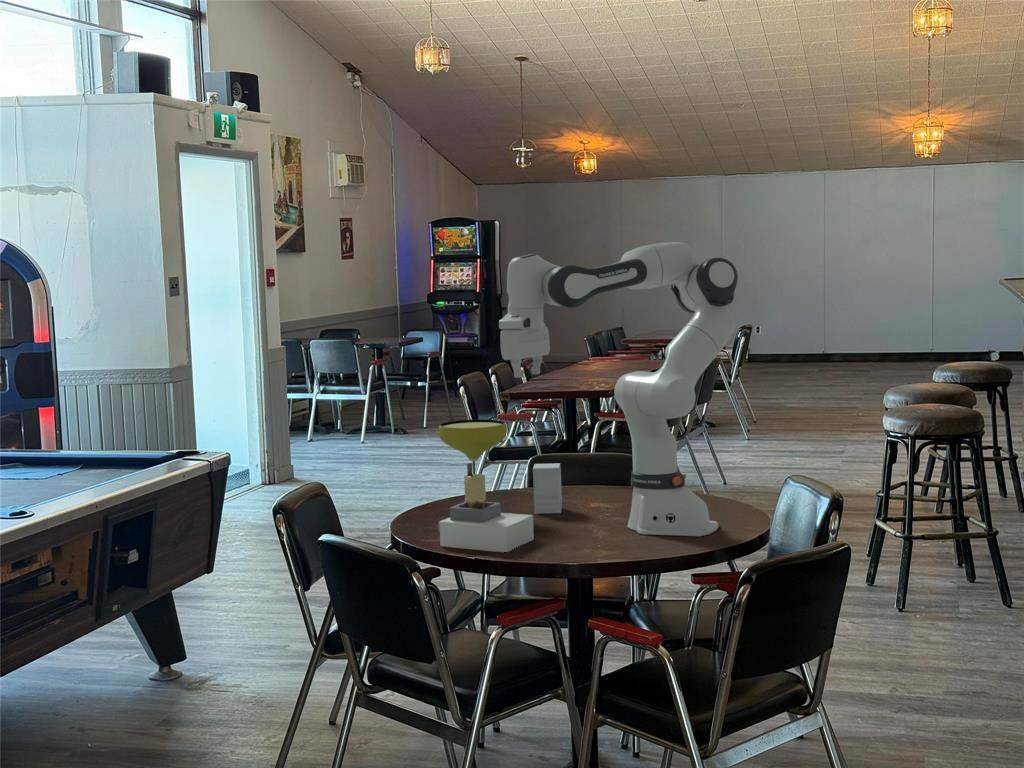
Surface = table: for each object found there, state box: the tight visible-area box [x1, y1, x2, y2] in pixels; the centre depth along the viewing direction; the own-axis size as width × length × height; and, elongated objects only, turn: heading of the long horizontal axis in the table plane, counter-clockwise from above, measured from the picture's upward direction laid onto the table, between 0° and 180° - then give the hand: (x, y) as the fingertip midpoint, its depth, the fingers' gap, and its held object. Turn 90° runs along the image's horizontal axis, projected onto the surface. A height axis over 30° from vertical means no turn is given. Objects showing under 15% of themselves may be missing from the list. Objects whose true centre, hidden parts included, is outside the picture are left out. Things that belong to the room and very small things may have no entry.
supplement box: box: [532, 462, 563, 515], centre depth 303 cm, size 7×7×13 cm
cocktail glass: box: [438, 419, 507, 474], centre depth 299 cm, size 18×18×25 cm
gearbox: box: [437, 501, 535, 553], centre depth 269 cm, size 22×14×9 cm, turn 62°
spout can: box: [463, 462, 487, 509], centre depth 269 cm, size 5×5×13 cm
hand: (527, 375), depth 277 cm, fingers open, 8 cm apart
